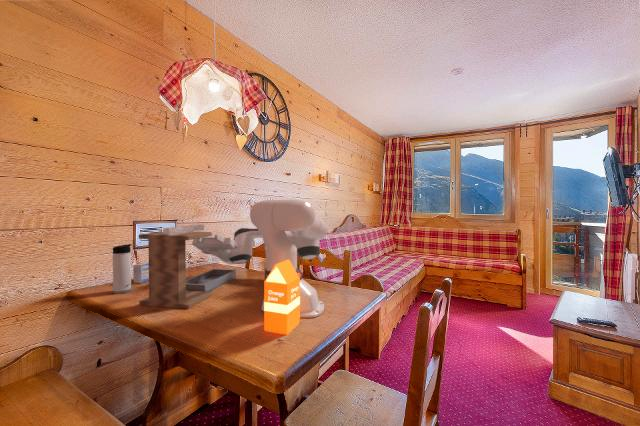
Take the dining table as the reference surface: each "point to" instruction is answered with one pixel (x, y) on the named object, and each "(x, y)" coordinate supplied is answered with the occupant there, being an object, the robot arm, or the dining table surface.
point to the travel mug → (121, 269)
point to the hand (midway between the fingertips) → (206, 236)
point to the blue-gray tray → (210, 280)
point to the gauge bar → (182, 229)
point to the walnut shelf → (170, 271)
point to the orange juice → (282, 299)
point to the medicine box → (141, 272)
